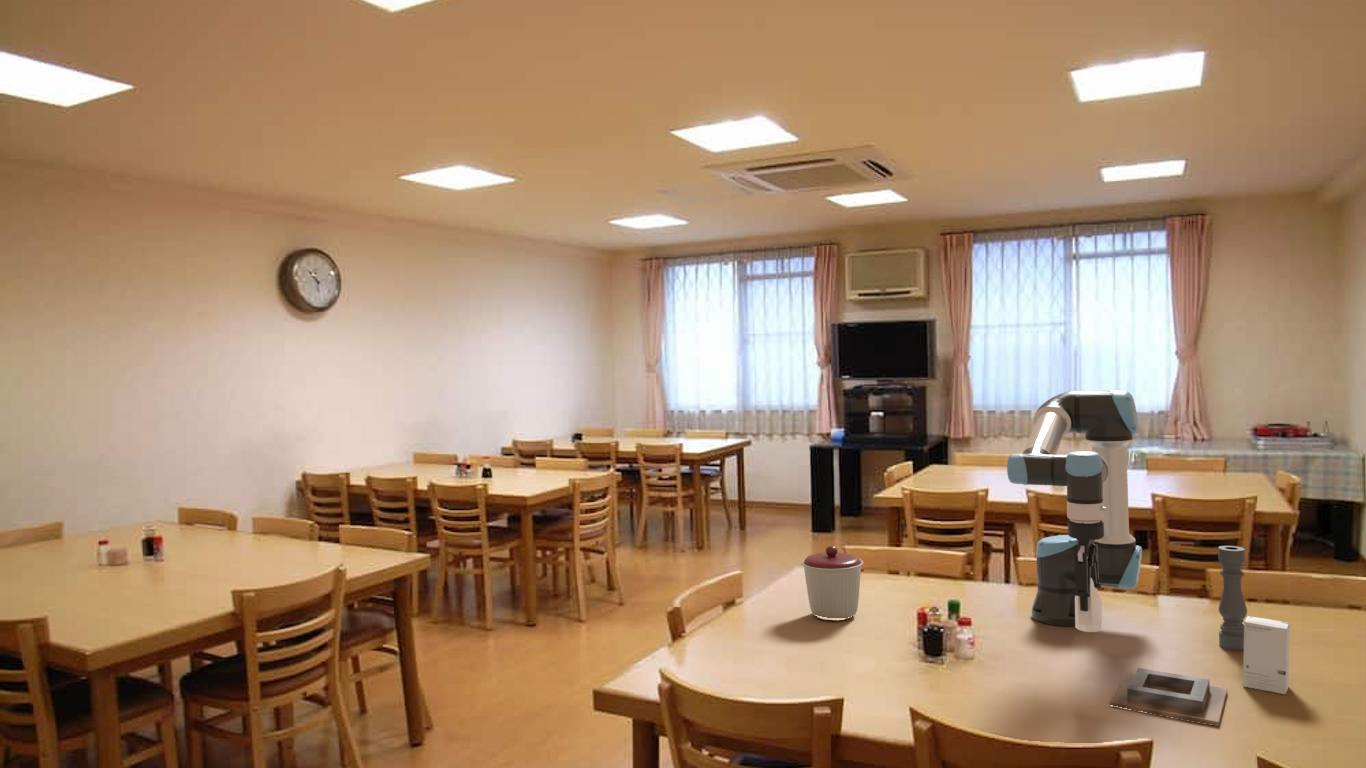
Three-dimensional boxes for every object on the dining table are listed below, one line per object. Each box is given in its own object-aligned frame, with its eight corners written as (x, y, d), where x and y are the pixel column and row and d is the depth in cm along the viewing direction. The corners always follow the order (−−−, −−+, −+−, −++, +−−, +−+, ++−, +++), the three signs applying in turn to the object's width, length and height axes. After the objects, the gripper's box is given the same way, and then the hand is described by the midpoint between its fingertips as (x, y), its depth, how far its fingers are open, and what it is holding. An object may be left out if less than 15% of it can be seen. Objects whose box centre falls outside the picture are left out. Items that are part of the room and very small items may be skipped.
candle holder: (1246, 643, 220) (1243, 546, 220) (1250, 651, 215) (1248, 551, 214) (1217, 641, 223) (1215, 545, 222) (1221, 649, 217) (1218, 550, 216)
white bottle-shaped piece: (1075, 572, 202) (1102, 574, 199) (1077, 622, 203) (1103, 625, 200) (1072, 578, 197) (1099, 581, 194) (1073, 630, 198) (1100, 633, 195)
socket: (1109, 706, 187) (1109, 690, 186) (1126, 676, 203) (1125, 661, 203) (1218, 726, 175) (1218, 709, 175) (1226, 693, 191) (1226, 677, 191)
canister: (874, 611, 261) (871, 542, 260) (851, 629, 246) (848, 555, 245) (818, 604, 271) (815, 537, 270) (793, 621, 255) (790, 550, 255)
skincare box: (1242, 687, 194) (1241, 621, 193) (1246, 679, 198) (1245, 614, 198) (1288, 695, 188) (1286, 627, 188) (1291, 686, 193) (1289, 620, 192)
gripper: (1094, 529, 188) (1098, 634, 189) (1111, 513, 203) (1114, 610, 204) (1057, 526, 192) (1061, 629, 193) (1077, 511, 208) (1080, 606, 209)
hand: (1088, 619), depth 199 cm, fingers closed on white bottle-shaped piece, 6 cm apart
